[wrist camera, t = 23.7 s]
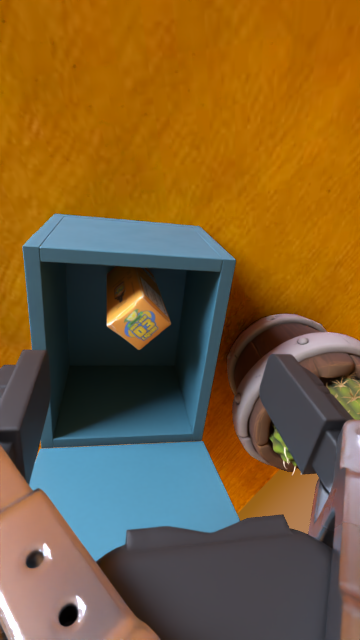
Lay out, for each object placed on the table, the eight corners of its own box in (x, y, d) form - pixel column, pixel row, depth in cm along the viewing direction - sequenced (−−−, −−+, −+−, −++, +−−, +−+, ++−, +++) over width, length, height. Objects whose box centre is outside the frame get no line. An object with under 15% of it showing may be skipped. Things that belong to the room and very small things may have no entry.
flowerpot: (295, 409, 44) (413, 582, 26) (188, 388, 39) (245, 581, 22) (354, 314, 38) (554, 451, 21) (239, 277, 34) (369, 413, 16)
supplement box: (131, 298, 32) (136, 355, 23) (105, 273, 30) (101, 323, 22) (157, 276, 31) (173, 325, 23) (132, 249, 30) (138, 291, 21)
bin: (54, 213, 28) (22, 245, 19) (199, 226, 31) (236, 259, 21) (62, 367, 35) (41, 448, 26) (180, 367, 38) (201, 441, 28)
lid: (-95, 801, 9) (-79, 928, 10) (327, 706, 12) (306, 814, 13) (39, 448, 25) (40, 510, 26) (203, 440, 28) (198, 497, 29)
